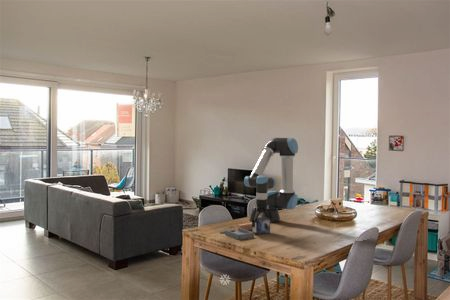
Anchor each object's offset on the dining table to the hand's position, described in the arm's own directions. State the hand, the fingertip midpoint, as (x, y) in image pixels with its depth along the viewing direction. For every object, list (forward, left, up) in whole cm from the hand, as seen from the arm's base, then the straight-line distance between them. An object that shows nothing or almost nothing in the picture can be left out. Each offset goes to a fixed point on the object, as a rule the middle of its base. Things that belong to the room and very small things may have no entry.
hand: (261, 230), depth 263 cm
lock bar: (+3, -13, -2) cm, 13 cm away
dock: (+17, -5, -2) cm, 18 cm away
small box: (0, 0, -2) cm, 2 cm away
